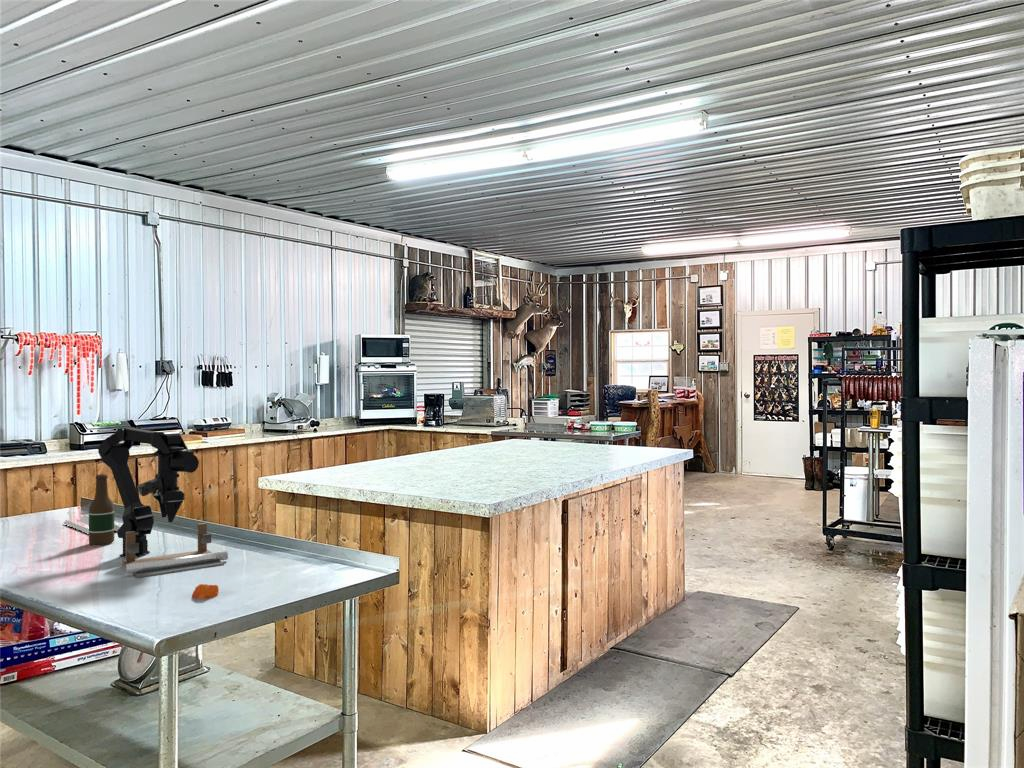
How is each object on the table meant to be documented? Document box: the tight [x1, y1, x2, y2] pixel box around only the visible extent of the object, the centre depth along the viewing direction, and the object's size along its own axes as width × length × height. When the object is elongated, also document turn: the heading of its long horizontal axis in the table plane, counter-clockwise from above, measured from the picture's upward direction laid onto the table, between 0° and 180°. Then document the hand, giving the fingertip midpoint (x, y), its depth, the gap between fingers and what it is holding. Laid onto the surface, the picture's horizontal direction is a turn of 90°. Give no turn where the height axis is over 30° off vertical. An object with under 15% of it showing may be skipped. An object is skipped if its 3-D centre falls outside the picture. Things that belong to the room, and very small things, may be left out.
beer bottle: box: [88, 473, 115, 546], centre depth 249 cm, size 8×8×24 cm
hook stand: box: [121, 522, 213, 569], centre depth 225 cm, size 9×25×10 cm, turn 128°
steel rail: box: [125, 550, 229, 575], centre depth 216 cm, size 28×3×3 cm, turn 128°
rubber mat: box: [133, 560, 225, 579], centre depth 216 cm, size 9×24×1 cm, turn 128°
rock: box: [191, 583, 220, 600], centre depth 188 cm, size 12×12×4 cm
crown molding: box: [63, 514, 121, 535], centre depth 276 cm, size 31×12×4 cm, turn 49°
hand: (167, 519), depth 227 cm, fingers open, 9 cm apart
